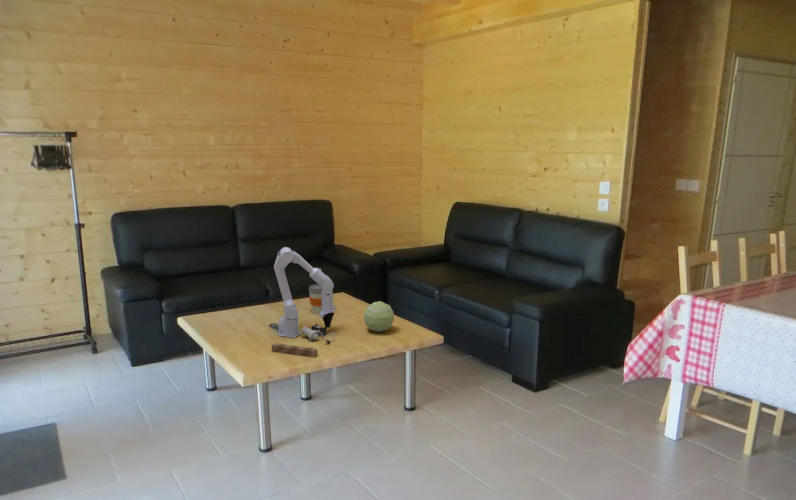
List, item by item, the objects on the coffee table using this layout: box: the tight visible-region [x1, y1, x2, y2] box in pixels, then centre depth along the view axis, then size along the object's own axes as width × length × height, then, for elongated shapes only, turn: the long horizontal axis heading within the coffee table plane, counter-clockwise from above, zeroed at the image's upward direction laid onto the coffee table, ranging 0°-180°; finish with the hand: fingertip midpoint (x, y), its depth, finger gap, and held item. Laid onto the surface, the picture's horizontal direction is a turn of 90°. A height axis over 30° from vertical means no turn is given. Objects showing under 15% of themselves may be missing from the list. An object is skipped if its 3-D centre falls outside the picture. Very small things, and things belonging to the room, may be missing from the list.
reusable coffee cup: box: [308, 283, 322, 315], centre depth 326 cm, size 13×13×15 cm
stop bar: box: [271, 342, 318, 358], centre depth 264 cm, size 22×3×3 cm, turn 71°
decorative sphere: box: [363, 300, 395, 333], centre depth 295 cm, size 15×15×15 cm
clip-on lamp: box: [301, 323, 336, 344], centre depth 283 cm, size 12×6×18 cm
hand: (327, 327), depth 294 cm, fingers closed
